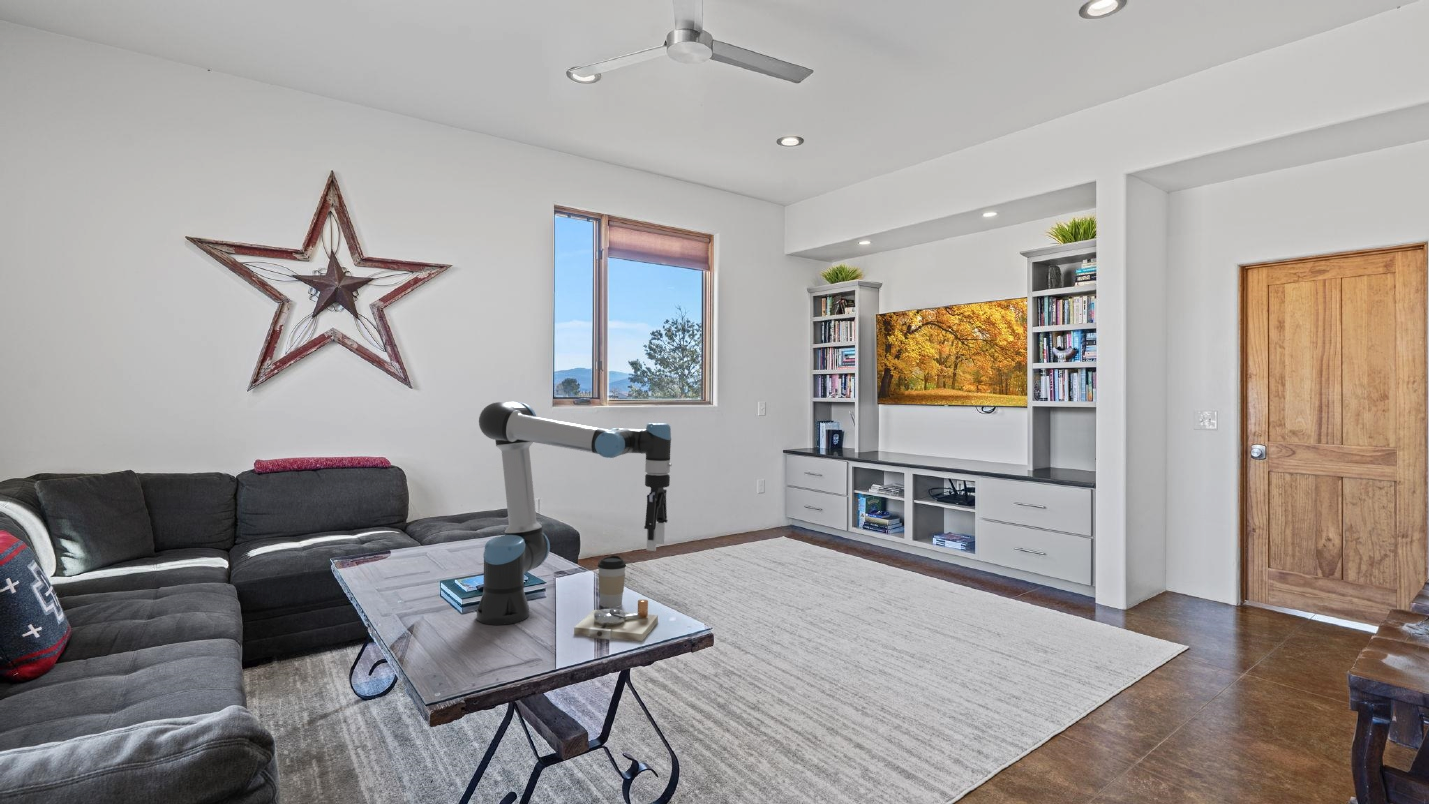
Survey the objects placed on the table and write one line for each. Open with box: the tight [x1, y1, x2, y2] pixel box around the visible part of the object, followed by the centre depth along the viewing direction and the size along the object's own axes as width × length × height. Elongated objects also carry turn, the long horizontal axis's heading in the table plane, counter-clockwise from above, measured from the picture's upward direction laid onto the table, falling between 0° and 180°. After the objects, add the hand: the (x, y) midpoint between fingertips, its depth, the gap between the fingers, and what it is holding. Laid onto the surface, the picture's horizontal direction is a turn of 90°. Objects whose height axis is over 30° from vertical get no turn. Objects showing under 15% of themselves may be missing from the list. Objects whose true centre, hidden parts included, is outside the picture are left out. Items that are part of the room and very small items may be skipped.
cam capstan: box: [594, 599, 649, 626], centre depth 199 cm, size 16×10×5 cm, turn 114°
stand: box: [573, 609, 659, 642], centre depth 198 cm, size 20×18×2 cm
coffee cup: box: [597, 555, 627, 609], centre depth 220 cm, size 9×9×15 cm
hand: (655, 546), depth 210 cm, fingers open, 9 cm apart
